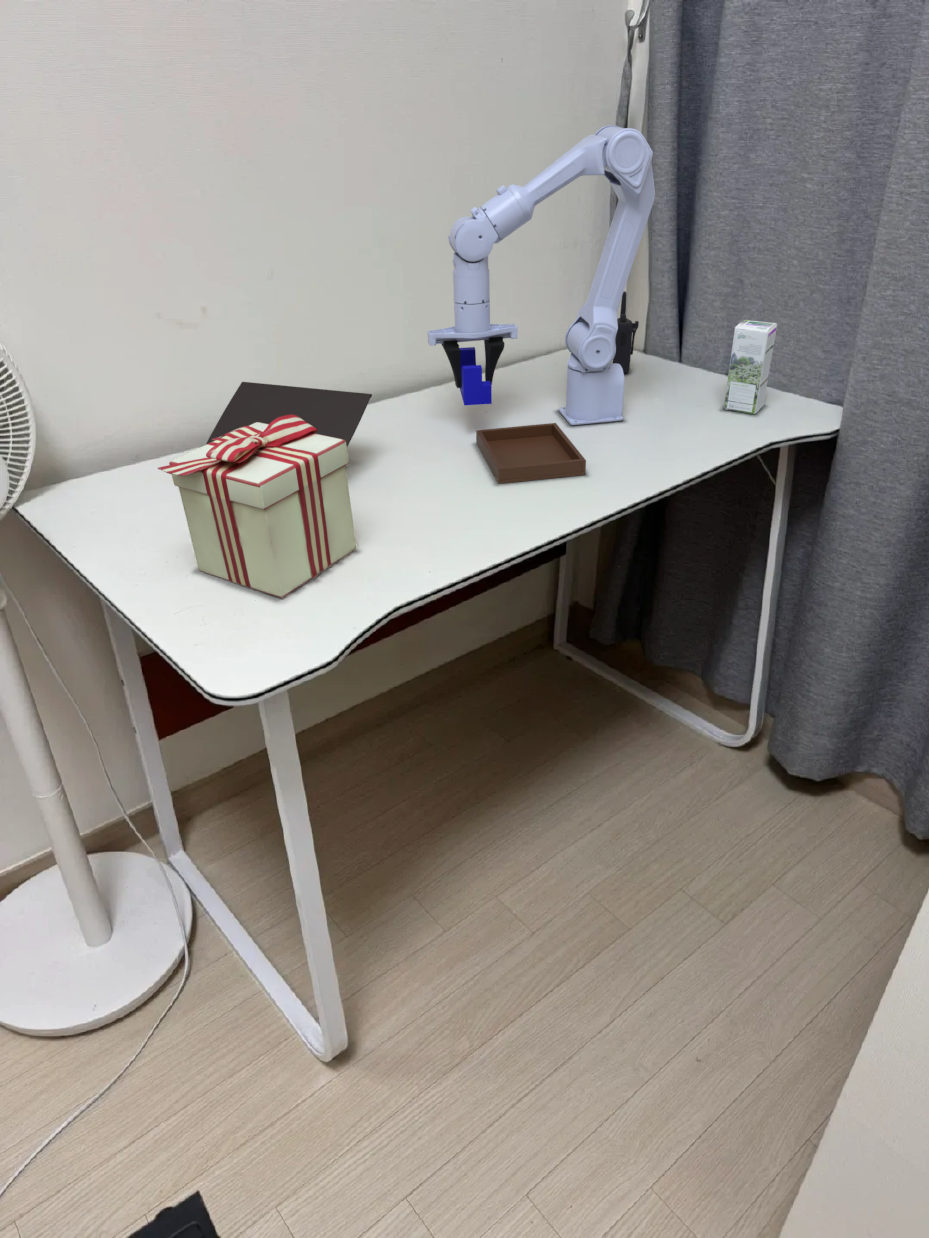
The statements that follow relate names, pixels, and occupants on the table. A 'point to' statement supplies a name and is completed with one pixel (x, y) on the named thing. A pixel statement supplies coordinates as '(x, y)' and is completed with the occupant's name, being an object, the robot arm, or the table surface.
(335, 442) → the gift box
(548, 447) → the tray
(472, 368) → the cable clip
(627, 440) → the table surface
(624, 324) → the two-way radio
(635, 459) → the table surface
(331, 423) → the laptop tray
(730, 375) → the syrup box
